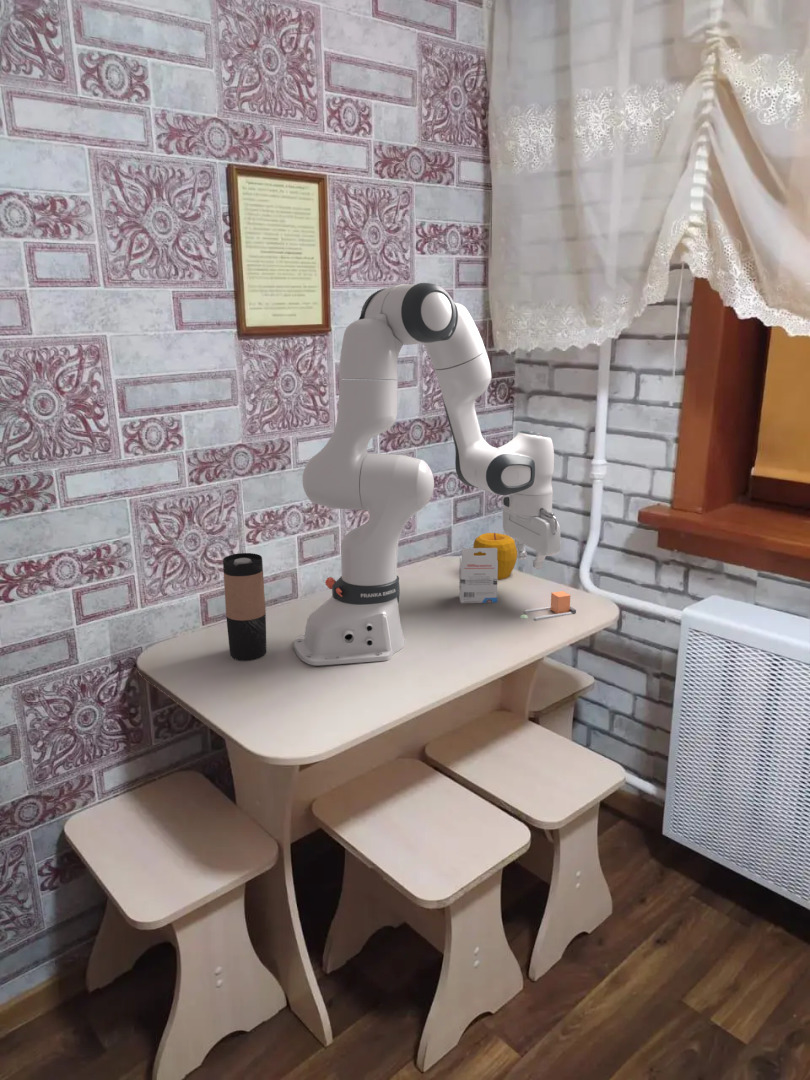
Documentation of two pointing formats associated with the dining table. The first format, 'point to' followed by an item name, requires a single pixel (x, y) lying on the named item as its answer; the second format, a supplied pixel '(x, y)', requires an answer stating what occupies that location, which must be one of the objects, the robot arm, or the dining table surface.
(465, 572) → the ink box
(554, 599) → the block
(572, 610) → the breaker panel
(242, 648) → the travel mug
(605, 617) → the dining table surface
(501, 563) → the apple
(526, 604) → the dining table surface
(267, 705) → the dining table surface
